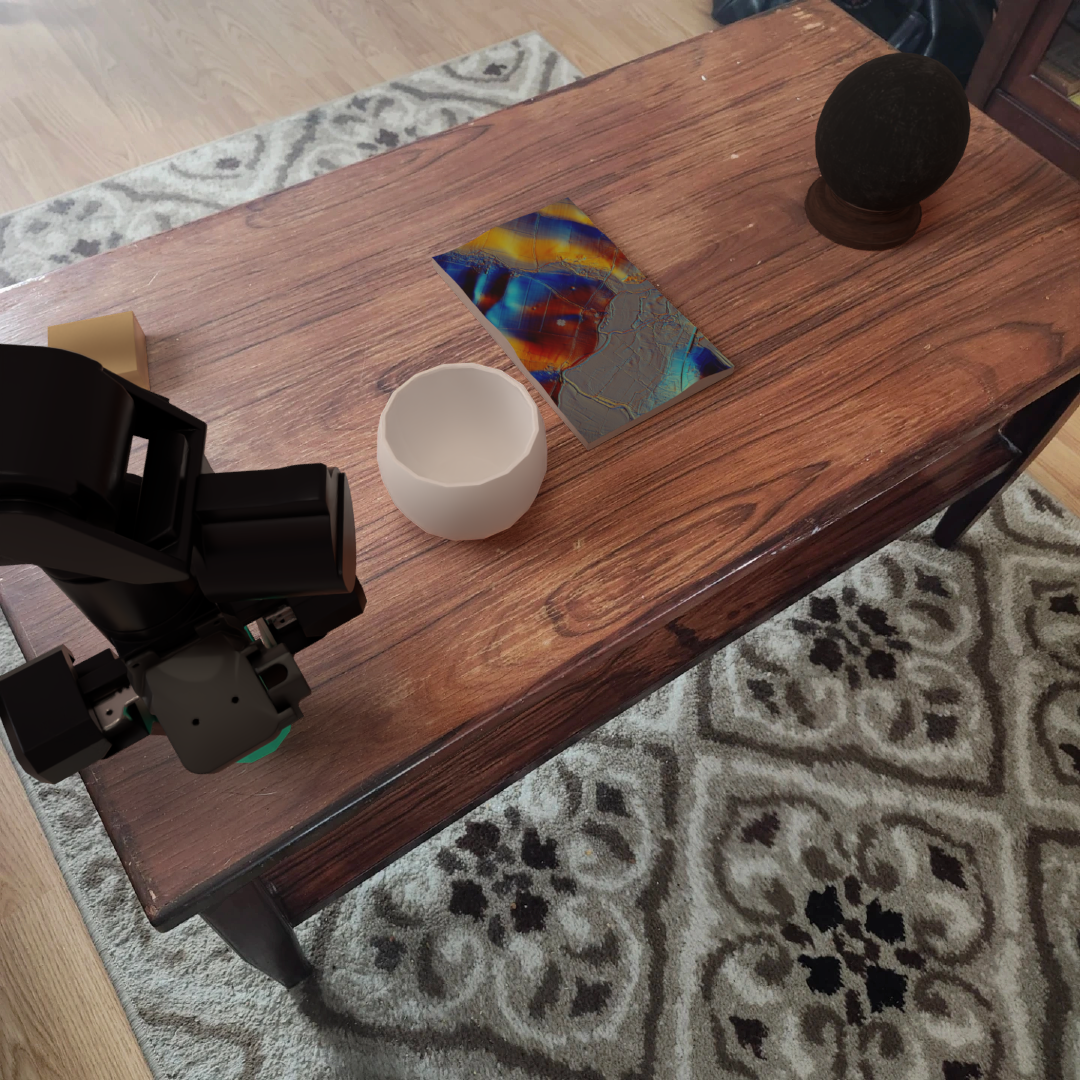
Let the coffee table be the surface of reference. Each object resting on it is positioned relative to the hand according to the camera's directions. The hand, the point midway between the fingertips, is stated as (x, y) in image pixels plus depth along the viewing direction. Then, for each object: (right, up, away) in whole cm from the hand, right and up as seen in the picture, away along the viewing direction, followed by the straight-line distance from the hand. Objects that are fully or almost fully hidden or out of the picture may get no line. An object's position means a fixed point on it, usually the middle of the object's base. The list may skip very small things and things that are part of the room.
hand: (231, 699), depth 56 cm
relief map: (+22, +30, +26) cm, 45 cm away
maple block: (-18, +24, +22) cm, 37 cm away
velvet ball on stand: (+51, +42, +34) cm, 74 cm away
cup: (+13, +13, +15) cm, 24 cm away
